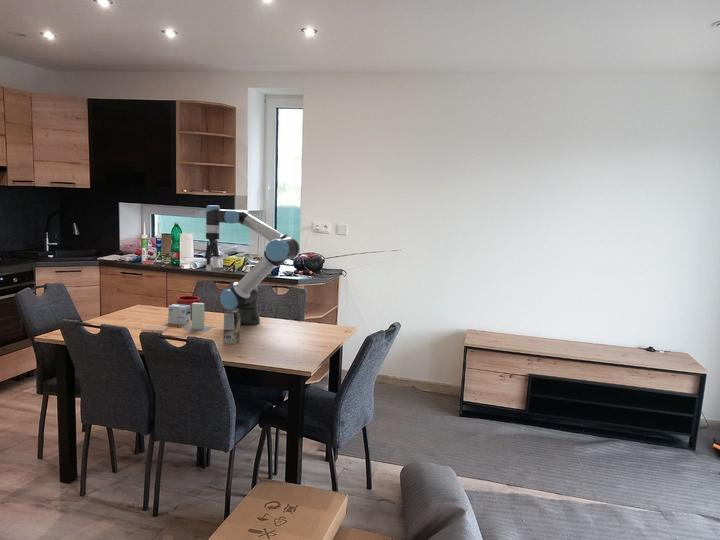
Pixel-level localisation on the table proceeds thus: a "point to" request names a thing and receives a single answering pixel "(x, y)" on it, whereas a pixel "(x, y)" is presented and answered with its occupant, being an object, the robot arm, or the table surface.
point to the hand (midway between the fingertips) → (211, 269)
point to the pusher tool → (198, 315)
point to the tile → (155, 328)
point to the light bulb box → (179, 314)
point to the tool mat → (206, 329)
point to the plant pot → (188, 301)
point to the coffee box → (231, 326)
